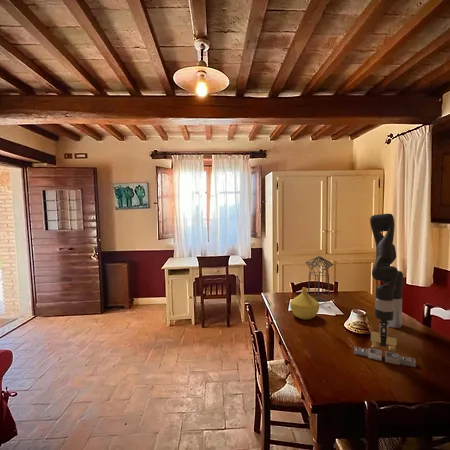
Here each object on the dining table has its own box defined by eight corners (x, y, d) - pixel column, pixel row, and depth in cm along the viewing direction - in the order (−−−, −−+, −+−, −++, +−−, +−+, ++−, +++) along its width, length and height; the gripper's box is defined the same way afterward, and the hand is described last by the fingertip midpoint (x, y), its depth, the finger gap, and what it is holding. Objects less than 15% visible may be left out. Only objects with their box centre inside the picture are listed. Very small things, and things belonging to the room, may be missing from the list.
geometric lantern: (303, 300, 218) (304, 255, 216) (321, 298, 223) (321, 254, 221) (316, 307, 203) (316, 258, 201) (334, 304, 208) (335, 257, 206)
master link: (370, 344, 137) (371, 331, 136) (395, 349, 132) (396, 335, 131) (370, 347, 134) (370, 333, 134) (396, 352, 129) (396, 338, 129)
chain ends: (354, 349, 142) (354, 344, 141) (414, 362, 129) (414, 356, 129) (353, 354, 137) (353, 349, 137) (415, 368, 125) (416, 362, 124)
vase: (315, 312, 194) (315, 284, 193) (322, 322, 175) (322, 292, 174) (288, 311, 195) (288, 284, 194) (292, 321, 177) (292, 291, 176)
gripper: (375, 302, 140) (374, 336, 141) (374, 311, 127) (373, 349, 128) (393, 304, 136) (392, 340, 137) (394, 314, 124) (393, 352, 125)
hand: (383, 344), depth 133 cm, fingers closed on master link, 3 cm apart
